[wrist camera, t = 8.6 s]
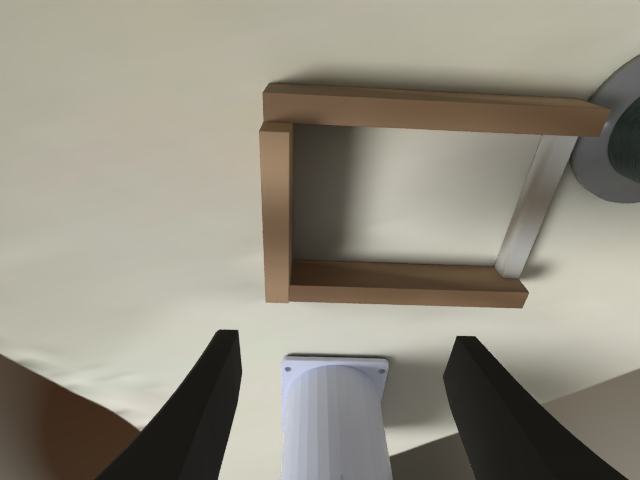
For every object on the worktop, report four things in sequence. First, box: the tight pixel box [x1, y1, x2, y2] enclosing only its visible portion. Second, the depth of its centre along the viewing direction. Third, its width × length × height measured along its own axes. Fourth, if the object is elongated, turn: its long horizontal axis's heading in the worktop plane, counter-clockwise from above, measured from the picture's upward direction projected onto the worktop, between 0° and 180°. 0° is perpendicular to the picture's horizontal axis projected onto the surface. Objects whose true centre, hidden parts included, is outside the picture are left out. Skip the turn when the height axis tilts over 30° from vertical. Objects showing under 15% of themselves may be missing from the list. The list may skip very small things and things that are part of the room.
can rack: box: [259, 83, 611, 308], centre depth 19 cm, size 11×15×4 cm
